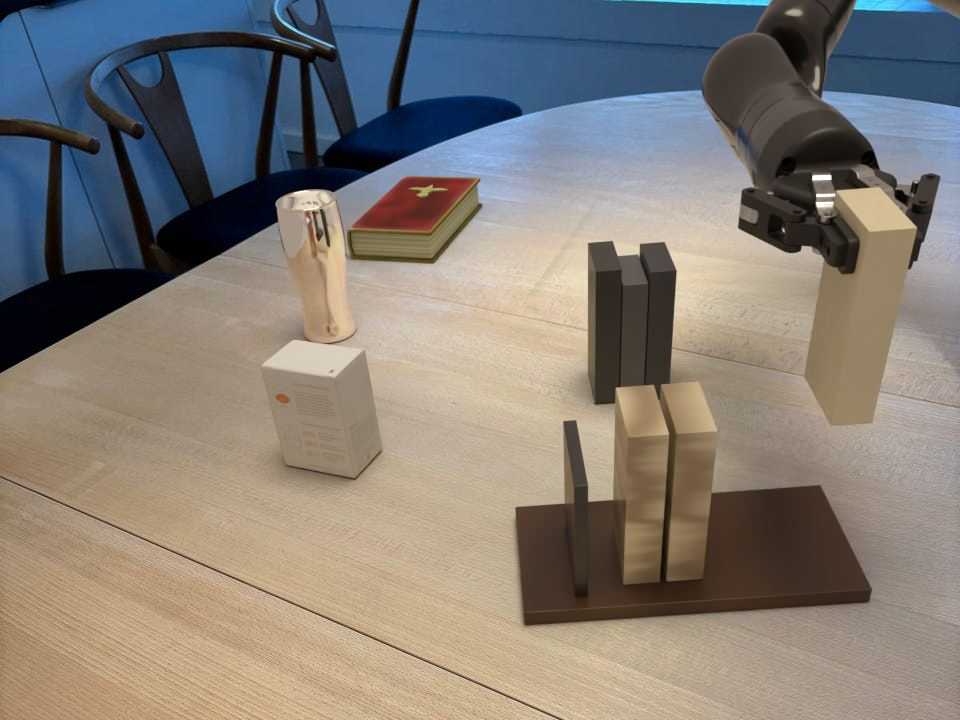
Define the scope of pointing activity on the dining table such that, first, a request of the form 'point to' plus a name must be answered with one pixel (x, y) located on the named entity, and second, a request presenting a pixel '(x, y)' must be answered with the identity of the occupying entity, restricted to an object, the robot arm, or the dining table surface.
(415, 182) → the hardcover book
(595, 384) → the grey books
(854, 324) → the cream book
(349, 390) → the small box
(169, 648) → the dining table surface
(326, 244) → the beer glass
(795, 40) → the robot arm
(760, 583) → the shelf
